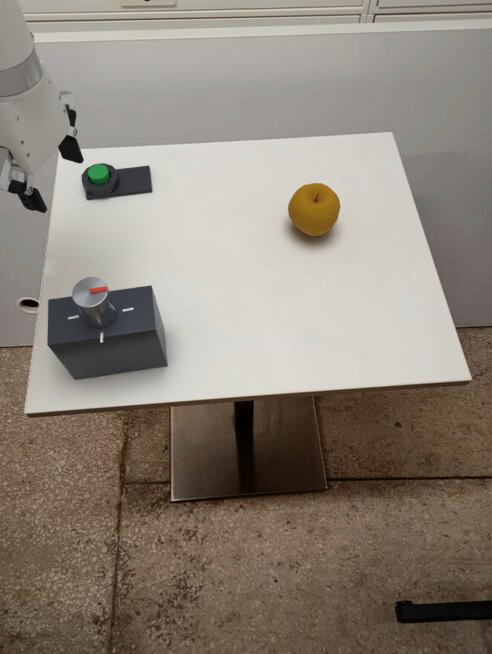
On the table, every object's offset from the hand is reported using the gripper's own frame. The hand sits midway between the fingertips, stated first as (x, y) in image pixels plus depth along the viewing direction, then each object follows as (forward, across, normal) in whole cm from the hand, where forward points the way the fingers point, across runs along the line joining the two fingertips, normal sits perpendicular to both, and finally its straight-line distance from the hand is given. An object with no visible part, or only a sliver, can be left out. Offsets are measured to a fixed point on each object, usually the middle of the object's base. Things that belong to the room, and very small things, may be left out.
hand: (55, 183), depth 69 cm
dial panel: (+19, +13, +12) cm, 26 cm away
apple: (+18, -21, +33) cm, 43 cm away
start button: (+16, -16, -7) cm, 24 cm away
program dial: (+7, +13, +12) cm, 19 cm away
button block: (+18, -18, -4) cm, 26 cm away
